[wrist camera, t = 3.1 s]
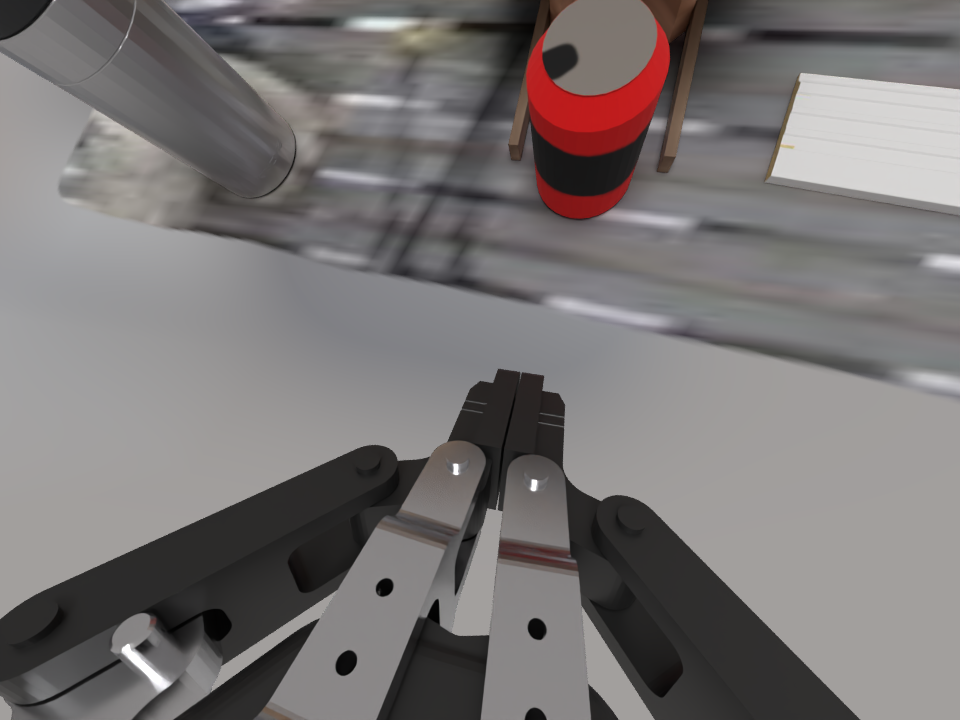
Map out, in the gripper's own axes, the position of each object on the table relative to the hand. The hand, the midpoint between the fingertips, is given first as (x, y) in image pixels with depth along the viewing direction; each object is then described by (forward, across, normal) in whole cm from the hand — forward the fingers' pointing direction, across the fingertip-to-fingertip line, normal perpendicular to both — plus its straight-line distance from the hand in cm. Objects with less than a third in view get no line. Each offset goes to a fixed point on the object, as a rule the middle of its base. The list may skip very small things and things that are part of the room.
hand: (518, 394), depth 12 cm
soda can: (+25, -2, -5) cm, 26 cm away
